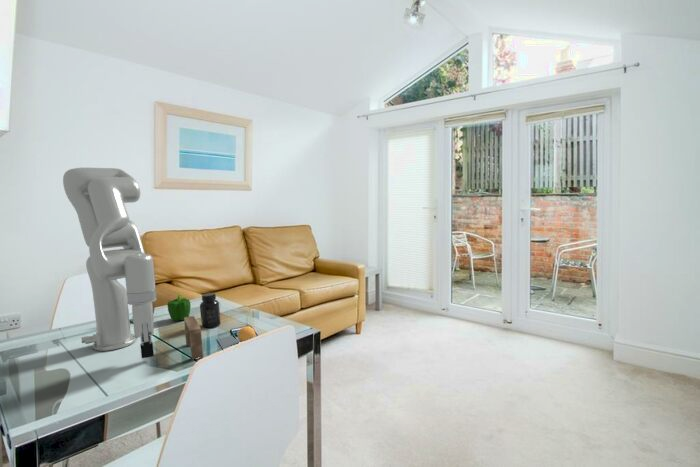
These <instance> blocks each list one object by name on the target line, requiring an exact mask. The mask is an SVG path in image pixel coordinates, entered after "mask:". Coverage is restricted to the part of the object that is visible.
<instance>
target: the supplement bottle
mask: <svg viewBox="0 0 700 467" xmlns="http://www.w3.org/2000/svg"><path fill="white" fill-rule="evenodd" d="M201 301H202V302H200V304H199V310H200V311H199V312H200V322H201V327H202V328H203V329H212V328H216V327H219V326H220V325H221V310H220V302H219V301H218V300H217V296H216V293H215V292H208V293H204V294H202V295H201Z"/></svg>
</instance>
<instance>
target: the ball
mask: <svg viewBox="0 0 700 467" xmlns="http://www.w3.org/2000/svg"><path fill="white" fill-rule="evenodd" d="M237 335H238V339H239V340H240V342H242V341H245V340H248V339H251V338H253V337H255V336H256V332H255V329H254V328H253V327H251V326H249V325H248V326H243V327H241V328H240V329H239V331H238V332H237Z"/></svg>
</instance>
